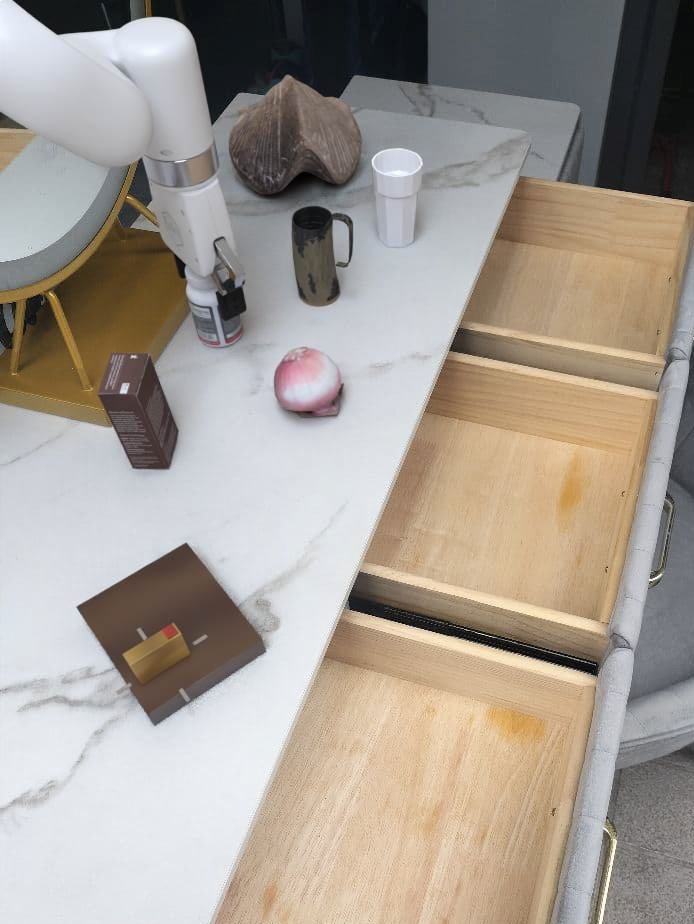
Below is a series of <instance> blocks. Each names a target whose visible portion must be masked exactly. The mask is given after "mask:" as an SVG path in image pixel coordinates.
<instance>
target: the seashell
mask: <svg viewBox="0 0 694 924" xmlns="http://www.w3.org/2000/svg"><path fill="white" fill-rule="evenodd" d="M228 136H229V137H228V153H229V158H230V161H231V163H232V166H233V168H234V170H235V171H236V173H237V175H238V177H239V178H240V179H241V180H242V181H243V183H245V184H246V185H247V186H248V187H249V188H251V189H252V190H254V191H255V192H257V193H258V194H261V195H274V194H276V193H279V192H281V191H283V190H284V189H285V188H286V187H287V186H288V185H289V184H290V183H291V182H292V181H293V180H294V179H295V178H296V177H297V176H298V175H300V174H301V173H304V172H305V173H308V174H311V175H313V176H315V177H317V178H318V179H321V180H323V181H325V182H327V183H330V184H333V185H342V184H344V183H346V182H347V181H349V180H350V178H351V177H352V176H353V174H354V173H355V170H356V168H357V166H358V164H359V161H360V159H361V155H362V143H363V142H362V141H363V138H362V133H361V130H360V128H359V124H358V122H357V120H356V118H355V116H354V115H353V113H352V110H351V106H350V104H349V103H347V102H346V101H345V100H342V99H340V98H339V97H338V98H337V97H334V96H324V95H322V94H320V93H319V91H317V90H315V89H314V88H312V87H310V86H309V85H307V84H305V83H304V82H301V81H299V80H297V79H295V78H294V77H293V76H292V75H290V74H286V75H285V76H284V77H283V78H282V80H281V81H279V82H277V83H276V84H275V85H274V86H272V87H271V88H270V89H269V90H268V91H267V92H266V93H265V94H264V96H263V97H262V98H261V99H260V100H259V101H258V102H257V103H256V104H254V105H249V106H244V107H241V108H239V109H238V114H237V118H236V120H235V123H234V124H233V126H232V128H231V130H230V132H229V135H228Z"/></svg>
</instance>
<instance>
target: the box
mask: <svg viewBox="0 0 694 924" xmlns="http://www.w3.org/2000/svg"><path fill="white" fill-rule="evenodd" d="M97 396H98V398H99V400H100V402H101V404H102V406H103V408H104V410H105V413H106V415H107V417H108V419H109V421H110V423H111V425H112V426H113V429H114V431H115V433H116V437H118V440H119V443H120V444H121V447H122V448H123V451H124V453H125V455H126V457H127V459H128V462H129V464H130V465H131V468H132V469H137V470H138V469H141V470H142V469H143V470H168V469H169V468H170V466H171V465H170V464H171V462H172V457H173V454H174V449H175V445H176V442H177V438H178V434H179V429H178V426H177V423H176V421H175V418H174V415H173V413H172V410H171V407H170V404H169V403H168V400H167V396H166V394H165V391H164V389H163V386H162V384H161V381H160V377H159V375H158V372H157V369H156V368H155V365H154V363H153V360H152V357H151V354H150V353H148V352H111V353H110V355H109V358H108V360H107V364H106V366H105V369H104V373H103V375H102V379H101V381H100V384H99V387H98V390H97Z"/></svg>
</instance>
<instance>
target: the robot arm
mask: <svg viewBox="0 0 694 924" xmlns="http://www.w3.org/2000/svg"><path fill="white" fill-rule="evenodd" d="M0 113H2V114H3V115H5V116H6V117H8V118H10V119H11V120H12V121H14V122H16V123H17V124H19V125H21V126H23V127H24V128H26V129H28V130H29V131H31V132H33V133H34V134H37V135H38V136H39V137H42V138H44V139H45V140H47V141H49V142H51V143H53V144H55V145H57V146H59V147H61V148H62V149H64V150H67V151H68V152H70V153H72V154H74V155H76V156H77V157H79V158H80V159H84V160H86V161H87V162H89V163H91V164H95V165H97V166H101V167H106V168H121V167H126V166H129V165H132V164H134V163H136V162H138V161H139V160H140V159H142V163H143V166H144V169H145V173H146V178H147V181H148V184H149V191H150V195H151V201H152V205H153V210H154V214H155V218H156V222H157V226H158V232H159V234H160V237H161V239H162V241H163V242H164V244H165V245H166V246H167V247H168V248H169V249H170V250H171V251H172V255H173V259H174V263H175V267H176V270H177V274H178V277H180V278H181V279H182V280H185V279H186V275H185V267H186V265H187V266H188V267H189V268H190V269H191V270H193V271H194V272H195V273H196V274H198V275H199V276H202V277H207V276H208V275H211V277H212V279H213V281H214V283H215V285H216V287H217V289H218V291H216V292H215V293H216V297H217V302H218V306H219V310H220V314H221V318H222V319H223V320H224V321H228V320H230V319H232V318H234V317H236V316H238V315H240V316H241V314H244V313H246V311H247V310H248V309H247V307H248V306H247V302H246V297H245V292H244V286H245V284H246V279H245V278H246V270H245V268H244V266H243V265H242V264H241V262H240V260H239V259H238V251H237V245H236V240H235V235H234V229H233V226H232V222H231V218H230V214H229V211H228V208H227V204H226V199H225V197H224V193H223V190H222V186H221V183H220V181H219V177H218V176H219V175H220V172H221V165H220V160H219V156H218V155H219V154H218V151H217V145H216V139H215V135H214V131H213V125H212V120H211V116H210V115H211V114H210V111H209V104H208V100H207V95H206V90H205V85H204V79H203V74H202V69H201V64H200V59H199V54H198V50H197V45H196V41H195V37H193V34H192V32H191V31H190V29H189V28H187V26H185V25H184V24H183V23H181V22H180V21H178V20H176V19H173V18H169V17H162V16H151V17H150V16H149V17H143V18H138V19H135V20H132V21H129V22H128V23H125V24H124V25H123V26H121V27H120V28H115V29H108V30H97V31H86V32H73V33H63V34H57V33H55V32H54V31H52V30H51V29H49V27H47V26H45V24H43V23H42V22H41V21H39V20H38V19H36V18H35V17H33V15H32V14H30V13H29V12H28V11H26V10H25V9H24V8H22V7H21V6H20V5H19V4H18V3H16V2H15V0H0ZM216 258H219V259H221V261H222V263H220V264H218V265H215V260H216ZM214 265H215V266H214ZM223 268H226V271H227V274H228V277H229V279H227V280H226V281H224V282H222V280H221V278H220V276H219V274H218V272H217V271H219V270H221V269H223Z"/></svg>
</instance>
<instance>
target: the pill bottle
mask: <svg viewBox="0 0 694 924" xmlns="http://www.w3.org/2000/svg"><path fill="white" fill-rule="evenodd" d="M220 263H222V261H221V259H220V258H219V257H217V258H216V260H215V265H218V264H220ZM215 265H214V266H215ZM217 272H218V274H219V276H220V278H221V280H222V282H224V281H226V280H227V279H229V275H228V270H227V268H226V267H225V268H223V269H221V270H219V271H217ZM185 275H186V278H185V279H186V282H187V284H186V287H185V293H186V297H187V301H188V305H189V309H190V313H191V316H192V320H193V323H194V326H195V330H196V334H197V338H198V339H199V341H200V342H201V343H202V344H204V345H206V346H208V347H211V348H225V347H229V346H232V345H233V344H235V343H236V342H237V341H238V340H240V338H241V337H242V335H243V332H244V326H243V322H242V317H241V314H240V315H238V316H236V317H234V318H232V319H230V320H228V321H224V320H223V319H222V318H221V314H220V310H219V306H218V302H217V297H216V293H215V292H216V291H218V289H217V287H216V285H215V283H214V281H213V279H212V277H211V275H208V276H207V277H202V276H199V275H198V274H196V273H195V272H194V271H193V270H191V269H190V268H189V267H188V266H187V265H186V267H185Z"/></svg>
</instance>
